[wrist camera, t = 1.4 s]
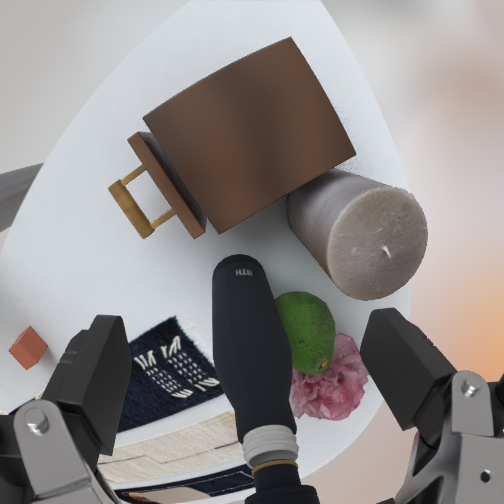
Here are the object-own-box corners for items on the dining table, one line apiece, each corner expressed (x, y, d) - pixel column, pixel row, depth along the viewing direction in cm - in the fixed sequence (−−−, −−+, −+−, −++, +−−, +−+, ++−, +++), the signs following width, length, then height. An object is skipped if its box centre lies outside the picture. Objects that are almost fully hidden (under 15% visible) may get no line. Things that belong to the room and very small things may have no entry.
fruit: (293, 336, 41) (317, 398, 29) (248, 313, 38) (261, 378, 27) (329, 295, 39) (366, 351, 28) (285, 267, 36) (315, 323, 25)
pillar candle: (347, 250, 36) (411, 313, 23) (276, 237, 35) (315, 304, 21) (369, 177, 33) (452, 208, 19) (296, 156, 31) (356, 172, 18)
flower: (378, 375, 43) (392, 412, 33) (300, 407, 46) (299, 447, 36) (348, 304, 41) (361, 335, 32) (260, 344, 44) (251, 380, 35)
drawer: (163, 240, 32) (151, 267, 25) (112, 165, 28) (85, 173, 22) (296, 158, 31) (319, 164, 24) (248, 77, 27) (257, 59, 20)
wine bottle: (230, 308, 38) (265, 555, 10) (202, 271, 35) (197, 548, 7) (273, 284, 37) (366, 527, 9) (247, 244, 35) (331, 523, 7)
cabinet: (218, 209, 33) (219, 235, 24) (162, 123, 28) (141, 117, 20) (321, 149, 31) (357, 154, 23) (270, 61, 27) (290, 36, 19)
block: (19, 335, 36) (8, 350, 32) (30, 326, 35) (18, 342, 31) (36, 354, 37) (26, 370, 33) (47, 345, 37) (37, 362, 33)
